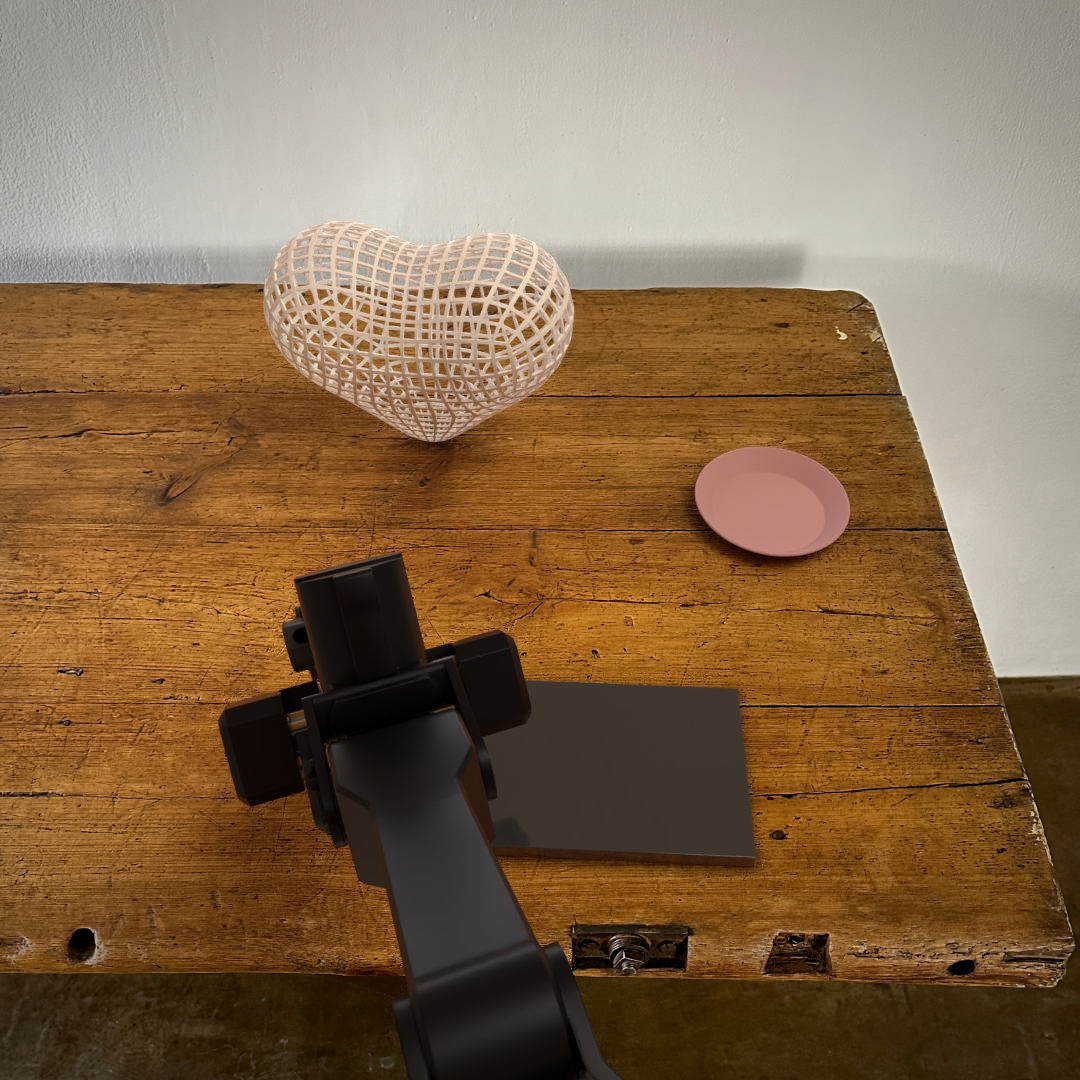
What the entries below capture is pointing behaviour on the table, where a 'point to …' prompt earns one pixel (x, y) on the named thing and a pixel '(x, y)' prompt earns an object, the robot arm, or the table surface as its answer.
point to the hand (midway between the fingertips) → (370, 692)
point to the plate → (772, 501)
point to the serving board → (624, 776)
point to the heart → (420, 322)
